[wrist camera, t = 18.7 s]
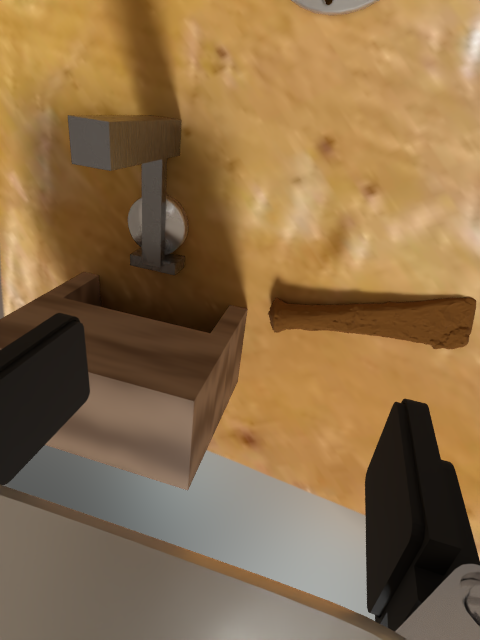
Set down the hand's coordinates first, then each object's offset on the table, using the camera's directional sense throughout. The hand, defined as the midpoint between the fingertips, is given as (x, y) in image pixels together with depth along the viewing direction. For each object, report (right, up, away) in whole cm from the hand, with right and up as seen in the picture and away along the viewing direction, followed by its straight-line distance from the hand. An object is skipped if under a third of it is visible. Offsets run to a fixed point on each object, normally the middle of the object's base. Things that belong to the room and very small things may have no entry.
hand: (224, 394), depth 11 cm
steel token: (-8, +12, +29) cm, 33 cm away
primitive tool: (+14, +3, +28) cm, 31 cm away
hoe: (-7, +15, +28) cm, 32 cm away
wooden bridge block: (-9, +1, +35) cm, 36 cm away
